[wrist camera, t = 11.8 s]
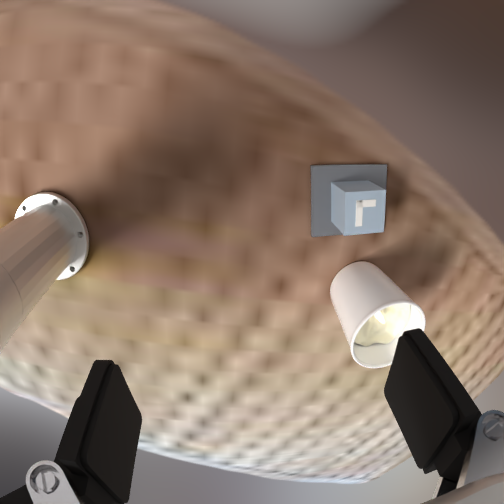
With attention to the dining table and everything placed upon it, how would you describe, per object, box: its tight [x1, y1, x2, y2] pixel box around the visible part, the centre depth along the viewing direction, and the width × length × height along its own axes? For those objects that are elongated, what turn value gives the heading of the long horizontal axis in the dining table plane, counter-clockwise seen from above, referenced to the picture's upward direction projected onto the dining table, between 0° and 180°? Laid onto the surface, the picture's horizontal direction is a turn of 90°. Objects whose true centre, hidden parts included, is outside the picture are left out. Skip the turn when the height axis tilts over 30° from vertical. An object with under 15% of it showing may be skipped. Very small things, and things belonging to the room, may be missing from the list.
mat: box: [311, 164, 387, 237], centre depth 39 cm, size 10×9×1 cm
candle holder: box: [330, 261, 425, 368], centre depth 39 cm, size 10×10×12 cm
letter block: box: [331, 180, 386, 236], centre depth 36 cm, size 5×5×5 cm
